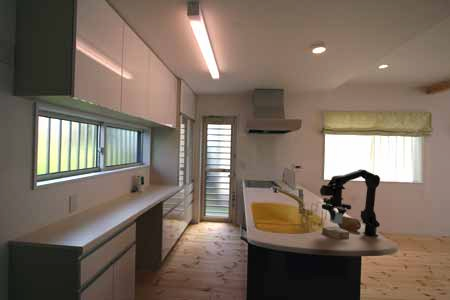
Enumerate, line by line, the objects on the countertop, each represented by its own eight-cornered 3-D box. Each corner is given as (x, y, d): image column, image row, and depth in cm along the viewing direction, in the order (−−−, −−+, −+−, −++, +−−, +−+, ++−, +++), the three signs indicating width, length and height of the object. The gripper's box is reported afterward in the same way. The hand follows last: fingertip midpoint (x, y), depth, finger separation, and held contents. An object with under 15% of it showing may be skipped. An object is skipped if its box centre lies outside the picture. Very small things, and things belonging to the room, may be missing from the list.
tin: (336, 226, 168) (337, 215, 168) (338, 226, 170) (338, 214, 170) (359, 232, 157) (360, 220, 157) (361, 231, 160) (361, 219, 160)
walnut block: (335, 232, 157) (335, 226, 157) (348, 238, 147) (349, 231, 147) (322, 233, 154) (322, 227, 154) (334, 239, 144) (334, 233, 144)
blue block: (336, 220, 154) (336, 211, 154) (342, 223, 149) (342, 213, 149) (329, 221, 152) (330, 212, 152) (335, 223, 147) (336, 214, 147)
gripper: (338, 193, 161) (338, 216, 161) (316, 193, 155) (315, 217, 155) (352, 196, 150) (351, 220, 150) (328, 197, 145) (327, 222, 145)
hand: (336, 220), depth 151 cm, fingers closed on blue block, 5 cm apart
